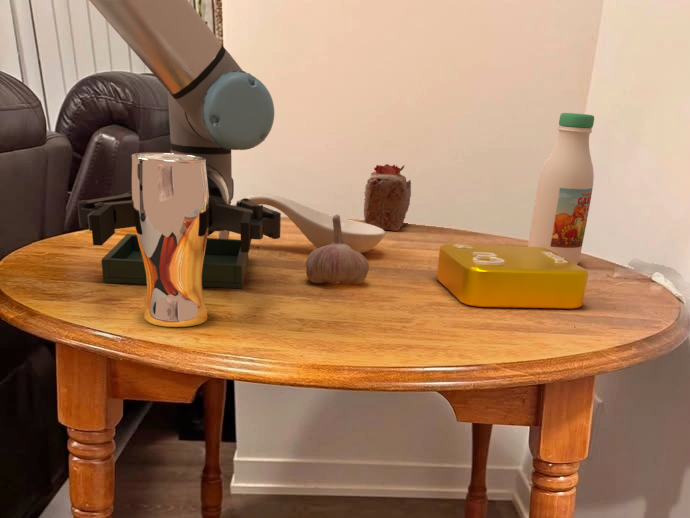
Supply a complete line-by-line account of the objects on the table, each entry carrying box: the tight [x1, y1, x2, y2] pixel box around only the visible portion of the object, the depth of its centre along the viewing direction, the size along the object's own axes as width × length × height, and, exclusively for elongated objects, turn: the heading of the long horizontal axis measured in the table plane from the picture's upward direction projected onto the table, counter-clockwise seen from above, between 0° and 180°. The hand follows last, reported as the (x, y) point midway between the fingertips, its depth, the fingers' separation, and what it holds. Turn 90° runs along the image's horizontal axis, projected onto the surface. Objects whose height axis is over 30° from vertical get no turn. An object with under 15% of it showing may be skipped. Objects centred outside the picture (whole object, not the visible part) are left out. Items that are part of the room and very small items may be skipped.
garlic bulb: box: [305, 214, 370, 285], centre depth 93 cm, size 8×7×8 cm
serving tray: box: [101, 233, 249, 290], centre depth 95 cm, size 16×16×3 cm
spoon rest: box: [216, 193, 386, 254], centre depth 110 cm, size 24×12×7 cm, turn 93°
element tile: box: [436, 243, 589, 310], centre depth 95 cm, size 15×15×5 cm
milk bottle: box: [527, 112, 595, 265], centre depth 110 cm, size 8×8×20 cm
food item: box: [363, 163, 412, 232], centre depth 133 cm, size 14×8×10 cm, turn 177°
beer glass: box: [131, 152, 209, 328], centre depth 74 cm, size 7×7×15 cm
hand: (171, 234), depth 72 cm, fingers open, 13 cm apart
